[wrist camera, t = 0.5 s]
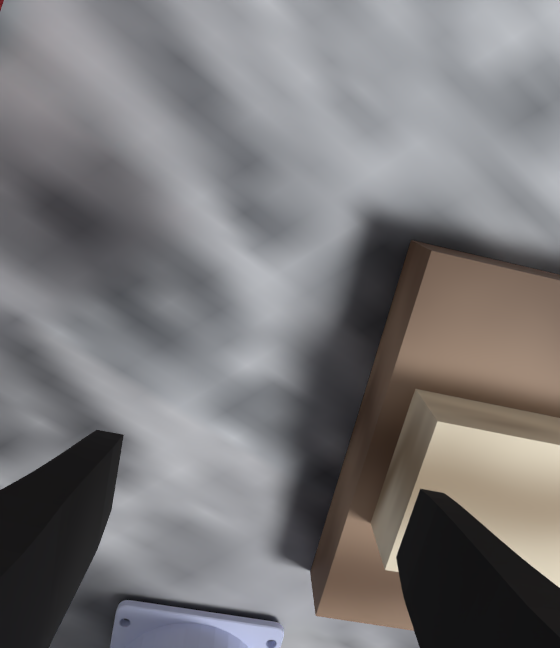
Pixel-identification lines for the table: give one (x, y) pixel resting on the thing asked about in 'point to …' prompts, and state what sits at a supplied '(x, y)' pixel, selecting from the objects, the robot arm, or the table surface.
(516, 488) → the birch tile
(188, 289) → the table surface
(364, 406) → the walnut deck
